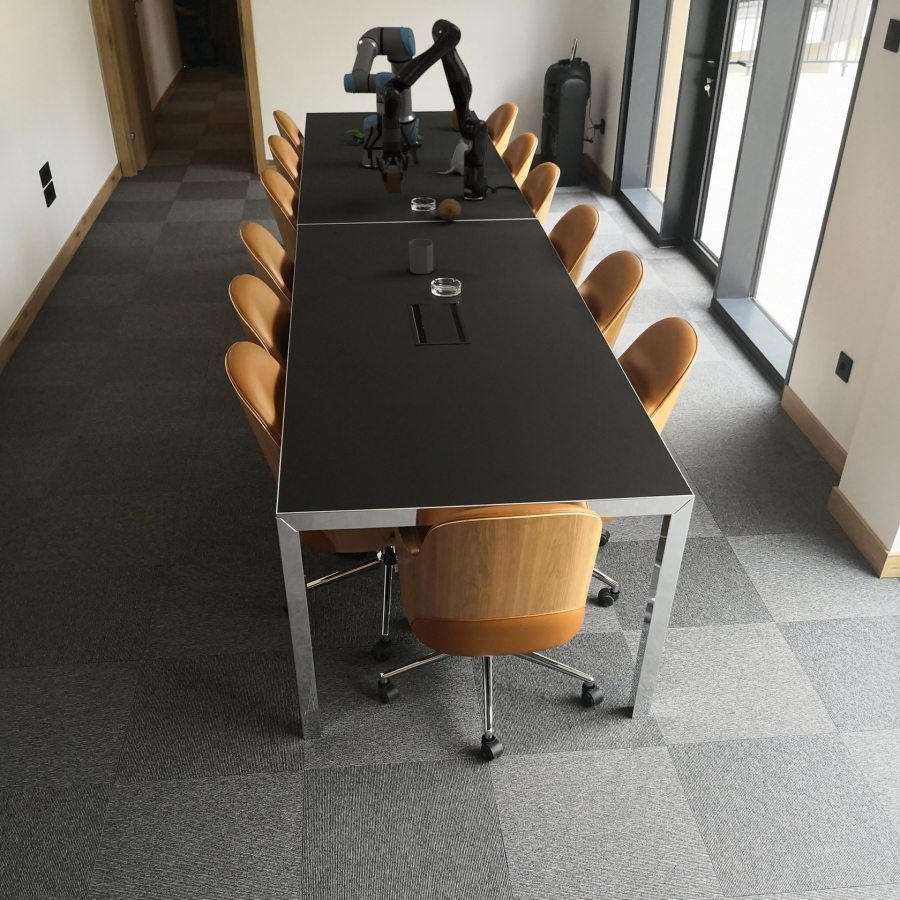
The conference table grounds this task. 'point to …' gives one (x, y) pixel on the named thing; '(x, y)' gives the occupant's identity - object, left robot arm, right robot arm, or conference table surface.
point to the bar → (392, 178)
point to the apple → (455, 120)
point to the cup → (421, 256)
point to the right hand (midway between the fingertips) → (393, 181)
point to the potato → (449, 209)
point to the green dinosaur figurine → (356, 137)
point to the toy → (458, 158)
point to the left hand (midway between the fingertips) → (387, 165)
